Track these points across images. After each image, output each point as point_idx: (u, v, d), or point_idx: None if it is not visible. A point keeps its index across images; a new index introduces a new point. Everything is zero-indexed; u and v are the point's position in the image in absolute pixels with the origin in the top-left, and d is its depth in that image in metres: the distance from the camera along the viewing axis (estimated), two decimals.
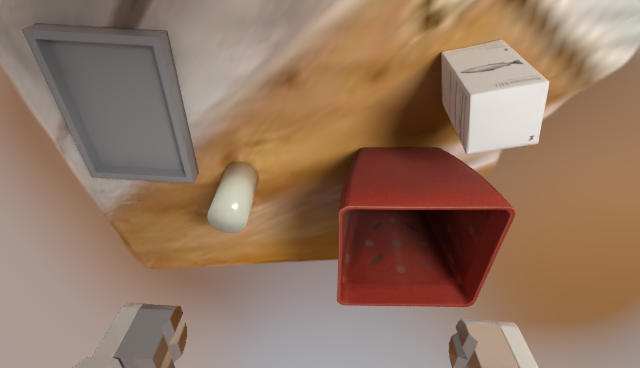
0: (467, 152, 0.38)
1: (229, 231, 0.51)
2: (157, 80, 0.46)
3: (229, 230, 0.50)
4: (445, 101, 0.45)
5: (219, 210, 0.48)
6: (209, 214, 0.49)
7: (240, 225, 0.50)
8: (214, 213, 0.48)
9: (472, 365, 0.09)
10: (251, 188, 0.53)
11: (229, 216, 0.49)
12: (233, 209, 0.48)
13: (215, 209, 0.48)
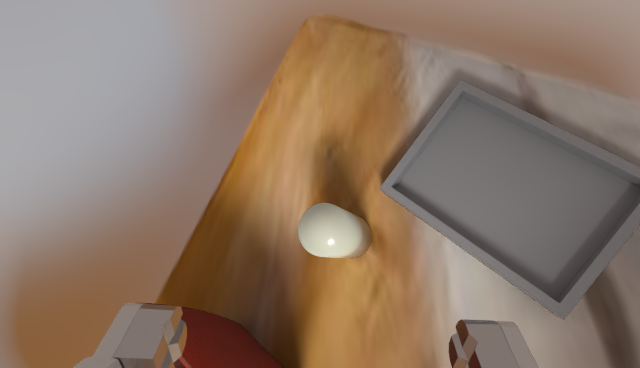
0: None
1: (305, 215, 0.37)
2: (514, 256, 0.37)
3: (306, 216, 0.37)
4: None
5: (339, 232, 0.35)
6: (342, 215, 0.35)
7: (305, 236, 0.36)
8: (339, 222, 0.35)
9: (472, 365, 0.09)
10: None
11: (324, 236, 0.35)
12: (331, 250, 0.35)
13: (344, 229, 0.35)
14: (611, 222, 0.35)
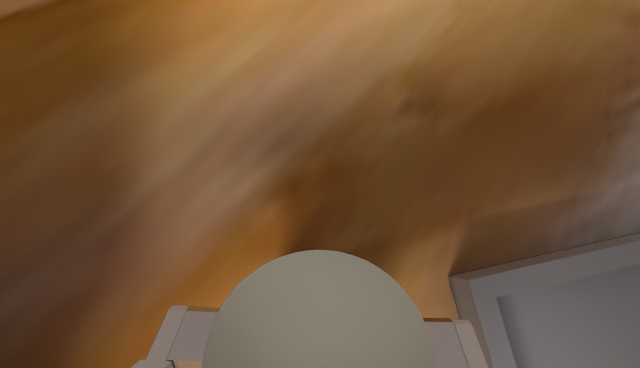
0: None
1: (296, 263, 0.09)
2: None
3: (297, 272, 0.09)
4: None
5: None
6: None
7: (236, 338, 0.08)
8: None
9: None
10: None
11: None
12: None
13: None
14: None
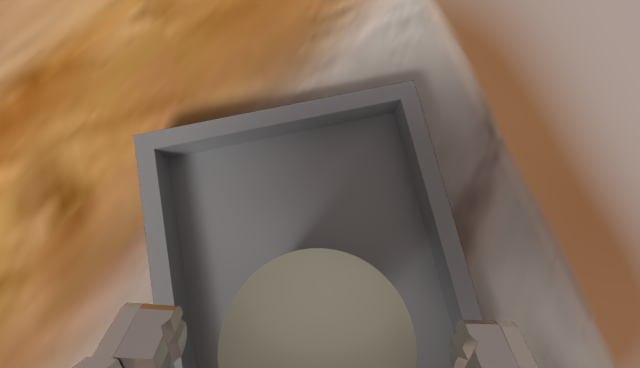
0: None
1: (298, 260, 0.10)
2: None
3: (299, 267, 0.10)
4: None
5: None
6: (407, 359, 0.10)
7: (247, 323, 0.10)
8: None
9: (472, 365, 0.09)
10: None
11: None
12: None
13: None
14: None
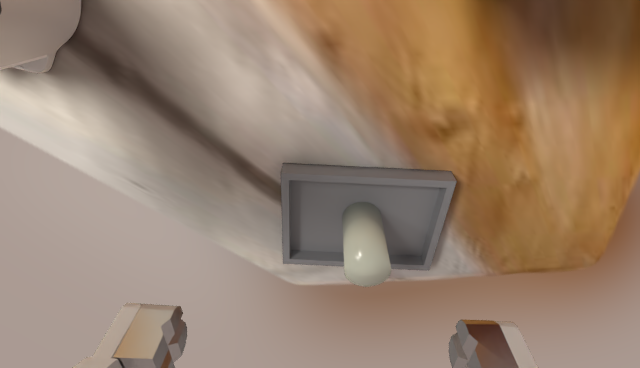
0: None
1: (388, 271, 0.41)
2: (329, 183, 0.47)
3: (386, 271, 0.41)
4: None
5: (352, 275, 0.42)
6: (358, 284, 0.43)
7: (378, 260, 0.40)
8: (357, 279, 0.42)
9: (472, 365, 0.09)
10: (357, 223, 0.45)
11: (362, 268, 0.41)
12: (351, 263, 0.41)
13: (351, 278, 0.42)
14: (293, 228, 0.51)
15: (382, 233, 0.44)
